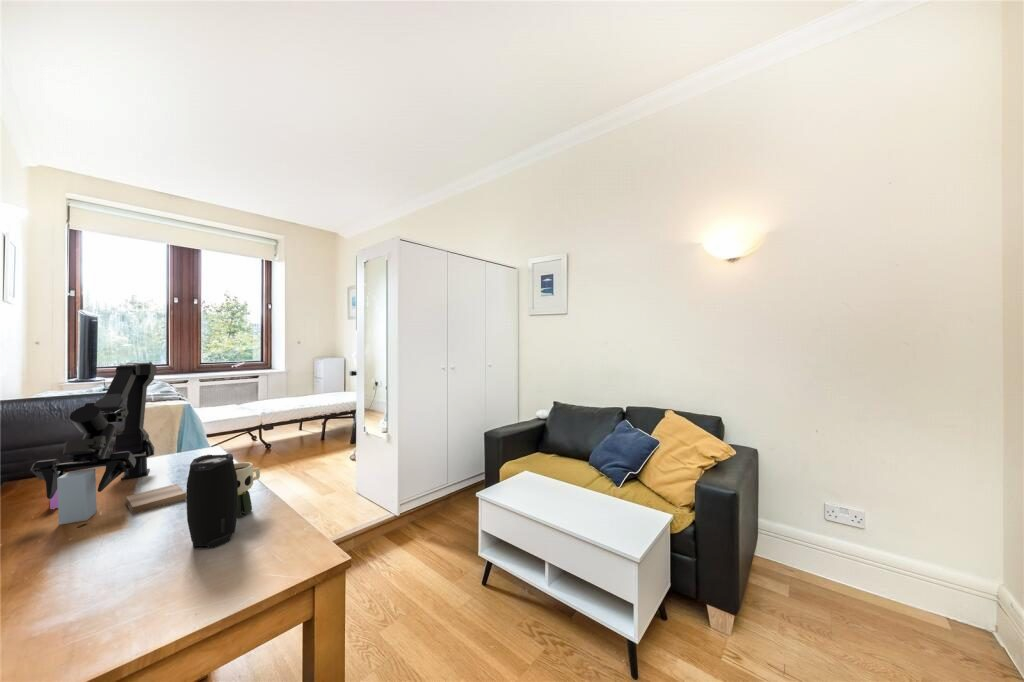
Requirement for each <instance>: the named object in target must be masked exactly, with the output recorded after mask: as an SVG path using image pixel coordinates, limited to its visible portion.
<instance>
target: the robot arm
mask: <svg viewBox="0 0 1024 682" xmlns="http://www.w3.org/2000/svg"><path fill="white" fill-rule="evenodd" d="M157 369H158V368H157V365H156V364H154V363H153V362H152V361H140V362H139V361H135V362H127V363H126V364H119V365H117V366H116V368H115V374H114V376H113V379H112V380H111V382H110V384H109V386H108V388H107V391H106V393H105V394H104V395H103V397H101V398H100V399H98V400H96V401H95V402H86V403H85V404H84V405H83V406H81V407H78V408H77V409H75V410H73V411H72V412H71V413H70V415H69V419H70V420H71V423H73V424H74V426H75V427H76V428H77V430H78V431H79V432H81V433H83V434H84V435H83V438H82V439H75V440H67V441H65V444H64V447H63V452H62V454H63V455H68V457H67V458H68V459H69V461H70V460H72V461H71V462H63V463H62V462H61V461H60V460H59V459H58V458H54V459H45V460H44V459H43V460H38V461H36V462H34V463H33V464H32V466H31V467H30V470H29V471H30V472H31V473H32V474H33V475H34V476H35V477H37V478H38V480H44V482H45V487H46V488H45V489H46V498H47V499H48V500H50V499H51V498H52V497H53V496H54V494H55V492H56V491H57V489H58V487H57V478H59V477H61V476H62V475H64V473H65V472H66V471H75V470H83V469H94V468H100V467H105V470H104V472H103V475H102V477H101V479H100V482H99V484H98V487H97V493H101V492H102V491H103V490H105V489H106V488H107V486H108V485H110V484H111V483H112V482H113V481H115V479H116V478H118V477H119V476H120V475H121V474H122V475H121V477H120V480H125V479H126V480H128V479H132V478H137V477H143V476H147V475H149V472H150V470H151V468H148V458H150V457H152V456H154V455H155V446H154V445H153V443H152V441H151V440H150V435H149V433H148V432H147V431H146V429H145V428H144V424H145V416H146V415H145V414H146V413H145V412H146V401H147V394H148V393H147V391H148V386H150V385H151V383H153V382H154V380H155V376H156V375H157ZM123 421H124V426H123V430H122V431H121V432H120V433H117V431H116V426H115V425H114V424H117V423H121V422H123ZM114 436H115V441H114V444H113V447H112V453H110V451H111V447H110V445H111V443H112V440H113V437H114ZM107 453H110V454H109V457H107V458H106V455H107Z"/></svg>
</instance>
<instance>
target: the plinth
mask: <svg viewBox="0 0 1024 682" xmlns="http://www.w3.org/2000/svg"><path fill="white" fill-rule="evenodd" d="M185 499H186V491H184V490H183V488H182V487H181V486H179V485H178V484H177V483H175V484H171V485H167V486H163V487H159V488H155V489H151V490H150V489H149V490H148V491H143V492H139V493H135V494H130V495H127V496H125V504H126V506H127V507H128V509H129V511H130V512H131V514H132V515H136V514H139V513H143V512H147V511H151V510H154V509H158V508H161V507H164V506H168V505H172V504H175V503H179V502H178V501H180V502H183V501H186V500H185ZM182 500H183V501H182Z"/></svg>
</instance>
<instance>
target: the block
mask: <svg viewBox="0 0 1024 682" xmlns="http://www.w3.org/2000/svg"><path fill="white" fill-rule="evenodd" d="M96 483H97V479H96V468H87V469H84V470H83V469H79V470H71V471H68V472H66V473H65V474H63V475H62V476H61V477H59V478H57V487H58V508H57V509H58V510H57V512H58V525H59V526H60V525H65V524H71V523H77V522H84V521H87V520H88V519H90V518H91V517H92V516H93V515H95V514H96V513H97V509H98V507H97V484H96Z"/></svg>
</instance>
